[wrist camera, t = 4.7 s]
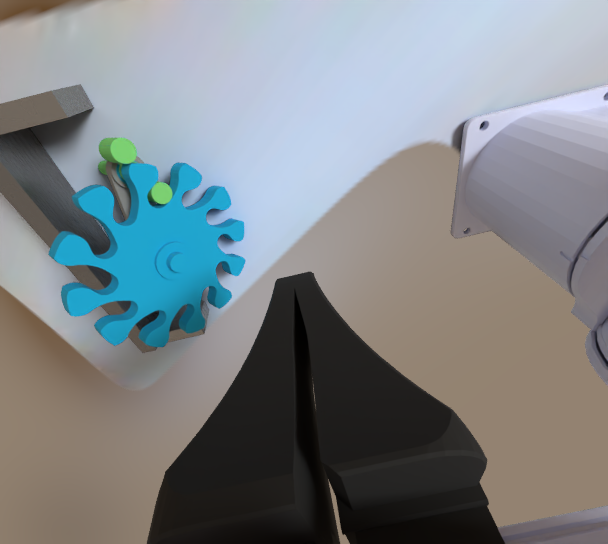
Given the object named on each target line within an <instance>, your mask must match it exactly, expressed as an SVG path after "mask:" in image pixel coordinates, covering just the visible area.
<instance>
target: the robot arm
mask: <svg viewBox="0 0 608 544" xmlns="http://www.w3.org/2000/svg"><path fill="white" fill-rule="evenodd" d="M606 93H607V94H606ZM605 94H606V96H605ZM604 96H605V97H604ZM484 121H485V124H484V126H483V127H482V128H481V129H480V125H481V123H482V122H484ZM466 228H467V230H466V231H464V230H465V229H466ZM488 231H493V232H494V233H495V234H497V235H498V236H499V237H500V238H501V239H503V240H504V241H505V242H506V243H508V244H509V245H510V246H511V247H513V248H514V249H515V250H516V251H518V252H519V253H520V254H521V255H523V256H524V257H525V258H526V259H528V260H529V261H530V262H531V263H533V264H534V265H535V266H536V267H537V268H539V269H540V270H541V271H542V272H544V273H545V274H546V275H547V276H549V277H550V278H551V279H552V280H554V281H555V282H556V283H557V284H559V285H560V286H561V287H562V288H564V289H565V290H566V291H567V292H569V293H570V294H571V295H572V296H574V297H575V305H574V307H573V309H572V311H571V313H572V314H573V315H575V316H576V317H577V318H578V319H579V320H580V321H582V322H583V323H584V324H585V325H586V326H587V327H588V328H590V329H591V330H590V331H589V333H588V335H587V337H586V342H585V348H586V354H587V356H588V359H589V361H590V363H591V365H592V366H593V368H594V370H595V371H596V373H597V374H598V375H599V376H600V378H601V379H602V380H603V381H604V382H605V384H606V385H608V84H607V85H603V86H599V87H595V88H591V89H587V90H583V91H579V92H575V93H570V94H566V95H562V96H558V97H554V98H550V99H546V100H542V101H538V102H534V103H530V104H525V105H521V106H517V107H513V108H509V109H505V110H501V111H497V112H493V113H489V114H485V115H480V116H476V117H473V118H471V119H469V120H468V121H467V122H466V124H465V125H464V129H463V136H462V145H461V153H460V162H459V169H458V178H457V185H456V194H455V201H454V210H453V218H452V226H451V235H452V236H453V237H454V238H462V237H466V236H470V235H475V234H479V233H483V232H488ZM312 376H313V379H312ZM313 385H314V393H313ZM314 395H315V401H314ZM315 404H316V408H315ZM486 465H487V458H486V457H485V455H484V453H483V451H482V449H481V447H480V446H479V444H478V443H477V441H476V440H475V438H474V437H473V435H472V434H471V432H470V431H469V430H468V428H467V427H466V426H465V424H464V423H463V422H462V421H461V419H460V418H459V417H458V416H457V414H456V413H455V412H454V411H453V410H452V409H451V408H449V407H448V406H446V405H445V404H443V403H442V402H440V401H439V400H437V399H436V398H434V397H433V396H431V395H430V394H428V393H427V392H426V391H424V390H423V389H421V388H420V387H418V386H417V385H416V384H414V383H413V382H411V381H410V380H409V379H408V378H406V377H405V376H403V375H402V374H401V373H400V372H398V371H397V370H396V369H395V368H394V367H392V366H391V365H390V364H389V363H388V362H386V361H385V360H384V359H382V358H381V357H380V356H379V355H378V354H377V353H376V352H374V351H373V350H372V349H371V348H370V347H369V346H368V345H367V344H366V343H365V342H364V341H363V340H362V339H361V338H360V337H359V336H358V335H357V334H356V333H355V332H354V331H353V330H352V329H351V328H350V327H349V326H348V324H347V323H346V322H345V321H344V320H343V319H342V317H341V316H340V315H339V314H338V313H337V311H336V310H335V309H334V307H333V306H332V305H331V303H330V302H329V301H328V300H327V298H326V296H325V295H324V293H323V292H322V290H321V289H320V287H319V285H318V283H317V281H316V279H315V277H314V273H312V272H306V273H302V274H298V275H293V276H289V277H284V278H280V279H277V281H276V282H275V287H274V290H273V294H272V298H271V301H270V304H269V307H268V310H267V313H266V316H265V319H264V321H263V324H262V326H261V329H260V331H259V333H258V335H257V338H256V340H255V342H254V345H253V347H252V349H251V351H250V353H249V355H248V357H247V359H246V360H245V362H244V364H243V366H242V368H241V370H240V371H239V373H238V375H237V376H236V378H235V380H234V381H233V383H232V385H231V386H230V388H229V390H228V391H227V393H226V394H225V396H224V397H223V399H222V400H221V402H220V403H219V404H218V406H217V407H216V409H215V410H214V411H213V413H212V414H211V416H210V417H209V418H208V420H207V421H206V423H205V424H204V425H203V427H202V428H201V429H200V431H199V432H198V433H197V434H196V436H195V437H194V438H193V439H192V441H191V442H190V443H189V444H188V445H187V447H186V448H185V449H184V450H183V452H182V453H181V454H180V455H179V456H178V458H177V459H176V460H175V461H174V463H173V464H172V465H171V466H170V467H169V469H167V471H166V472H165V475H164V479H163V482H162V485H161V488H160V490H159V494H158V498H157V501H156V505H155V510H154V514H153V518H152V523H151V527H150V532H149V536H148V540H147V544H340V541H339V536H338V530H337V525H336V520H335V515H334V509H333V504H332V498H331V493H330V488H329V482H330V484H331V486H332V489H333V491H334V493H335V495H336V500H337V506H338V512H339V518H340V524H341V530H342V534H343V535H344V534H345V535H346V537H347V539H348V540H349V543H350V544H608V506H603V507H598V508H593V509H588V510H583V511H578V512H573V513H568V514H563V515H558V516H553V517H548V518H543V519H538V520H533V521H528V522H523V523H518V524H513V525H508V526H503V527H498V528H497V526H496V524H495V522H494V520H493V518H492V516H491V513H490V512H489V509H488V507H487V505H488V504H489V503H488V499H487V497H486V495H485V493H484V491H483V489H482V487H481V485H480V483H479V481H480V479H481V477H482V475H483V473H484V471H485V469H486ZM328 479H329V482H328Z"/></svg>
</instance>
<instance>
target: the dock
mask: <svg viewBox="0 0 608 544" xmlns="http://www.w3.org/2000/svg"><path fill="white" fill-rule="evenodd" d="M92 108H94V107H93V105H92V104H91V102H90V100H89V98H88V97H87V95H86V93H85V91H84V90H83V88H82V86H81V84H80V85H76V86H71V87H66V88H62V89H57V90H53V91H49V92H45V93H41V94H37V95H33V96H29V97H26V98H22V99H18V100H14V101H10V102H6V103H2V104H0V192H1V193H2V194H3V195H4V196H5V197H6V199H7V200H8V201H9V202H10V203H11V204H12V205H13V206H14V208H15V209H16V210H17V211H18V212H19V213H20V214H21V216H22V217H23V218H24V219H25V220H26V221H27V222H28V223H29V225H30V226H31V227H32V228H33V229H34V230H35V231H36V233H37V234H38V235H39V236H40V237H41V238H42V239H43V240H44V242H45V243H46V244H47V245H48V246H49V247H50V248H51V246H52V243H53V241H54V240H55V238H56V237H57V236H58V235H59V234H60V233H61V232H62V231H68V232H72V233H74V234H76V235H78V236H80V237H81V238H83V239H84V240H85V241H86V242H87V243H88V245H89V247H90V249H91V251H92V253H93V254H94V255H101V254H104V253H106V252H107V251H108V250H109V248H110V245H111V242H110V240H109V239H108V237H107V236H106V234H105V233H104V232H103V230H102V229H101V227H100V226H99V225H98V223H97V222H96V220H95V219H94V218H93V216H91V215H90V214H88V213H86V212H84V211H81V210H80V209H79V208H77V207H76V206H75V204H74V202H73V200H72V196H73V195H74V194H76V193H75V191H74V190H73V188H72V187H71V186H70V184H69V183H68V181H67V180H66V179H65V177H64V176H63V174H62V173H61V172H60V170H59V169H58V168H57V166H56V165H55V163H54V162H53V161H52V159H51V158H50V156H49V155H48V154H47V152H46V151H45V149H44V148H43V147H42V145H41V144H40V142H39V141H38V140H37V138H36V137H35V135H34V134H33V133H32V131H31V130H30V129H29V127H33V126H36V125H40V124H44V123H48V122H52V121H56V120H60V119H64V118H68V117H71V116H73V115H76V114H78V113H81V112H84V111H86V110H89V109H92ZM66 267H67V268H68V269H69V270H70V271H71V272H72V273H73V274H74V276H75V277H76V278H77V279H78V280H79V281H80V282H81V283H82V284H84V285H86V286H88V287H90V288H92V289H94V290H101V289H104V288H106V287H107V286H109V284H110V283H111V280H112V277H111V274H110V273H109V272H108V271H106V270H104V269H102V268H99V267H96V266H90V265H74V266H66ZM101 306H102V307H103V308H104V310H105V311H106V312H107V313H108V314H109V315H119V314H123V313H125V312H126V311H128V309H129V308H130V306H131V301H129V300H128V301H113V302H109V303H106V304H103V305H101ZM200 308H201V313H202V315H203V317H204V318H205V327H204V328H203V329H201V330H199V331H197V332H194V333H186V332H185V331H183V330H182V329H180V327H179V320H180V318H181V316H182V315H183V313H184V312H185V311H186V309H187V305H184V306H182V307H181V308H180V310H179V311H178V312H177V314H176V315H175V317H174V318H173V320H172V322H171V325H170V330H169V340H168V342H171V341H175V340H180V339H184V338H188V337H193V336H197V335H202V334H204V333H205V328H206V323H207V318H208V312H209V309H208V307H207V305H206V303H205V302H204V301H201V304H200ZM158 315H159V310H157V311H154V312H152V313H150V314H149V315H147V316H145V317H144V318H142V319H141V320H140V321H138V322H137V323H136V324H135V325H134V327H133V328H132V329H131V331H130V332H129V334H128V337H129V338H130V339H131V340H132V341H133V342H134V344H135V345H136V346H137V347H138V348H139V349H140V350H141V351H142V353H145V352H150V351H154V350H156V349H157V347H152V346H148V345H146V344H145V343H144V342H143V341H141V340H140V339H139V333H140V331H141V329H142V328H143V327H144V326H146V325H147V324H149V323H151V322H153V321H154V320H155V319H156V318H157V317H158Z"/></svg>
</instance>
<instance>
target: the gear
mask: <svg viewBox="0 0 608 544" xmlns="http://www.w3.org/2000/svg"><path fill="white" fill-rule="evenodd" d="M99 152H100V154H101V156H102V157H103V158H104V159H105V160H107V161H101V162H100V163H99V165H98V169H99V171H100V172H101V173H102V174H104V175H107V176H108V178H109V181H110V183H111V186H112V188H113V191H114V193H115V196H116V198H117V201H118V203H119V206H120V208H121V211H122V213H123V216H124V218H125V221H124V222H122V223H116V221H115V220H114V218H113V208H114V197H113V194H112V193H111V192H110V190H109V189H107V188H106V187H104V186H101V185H91V186H88V187H86V188H84V189H82V190H80V191H79V192H77V193H76V194H74V195H73V196H72V200H73V202H74V204H75V206H76V207H77V208H79V209H80V210H81V211H84V212H86V213H88V214H90V215H91V216H93V217H94V218H95V219H96V220H98V221H99V222H100V224H101V225H102V226H103V227H104V229H105V231H106V233H107V235H108V237H109V239H110V242H111V245H110V248H109V250H108V251H107V252H106V253H104V254H101V255H94V254H93V253H92V251H91V249H90V247H89V245H88V243H87V242H86V241H85V240H84V239H83V238H81V237H80V236H78V235H76V234H74V233H72V232H68V231H62V232H61V233H60V234H59V235H58V236H57V237H56V238H55V240H54V241H53V243H52V246H51V248H50V251H49V254H48V255H50V256H51V257H52V258H53V259H54V260H55V261H57V262H58V263H60V264H62V265H66V266H74V265H90V266H96V267H99V268H102V269H104V270H106V271H108V272H109V273H110V274H111V277H112V280H111V283H110V284H109V286H107V287H106V288H104V289H101V290H94V289H92V288H90V287H88V286H86V285H84V284H82V283H69V284H66V285H64V286H63V287H62V291H61V297H62V302H63V305H64V308H65V310H66V311H67V312H68V313H69V314H70V315H71V316H82V315H85V314H87V313H89V312H91V311H92V310H93V309H95V308H97V307H99V306H101V305H103V304H106V303H109V302H113V301H128V300H129V301H131V306H130V308H129V309H128V311H126V312H125V313H123V314H119V315H107V316H104V317H102V318H100V319H99V320H98V321H97V322H96V323H95V325H94V326H95V328H96V330H97V331H98V332H99V333H100V334H101V335H102V336H103V337H104V338H105V339H106V340H107V341H108V342H109V343H111V344H113V345H114V346H115V345H118V344H120V343H122V342H123V341H124V340H125V339H126V338H127V336H128V334H129V332H130V331H131V329H132V328H133V327H134V325H135V324H136V323H137V322H138V321H140V320H141V319H142V318H144V317H145V316H147V315H149V314H150V313H152V312H154V311H157V310H159V315H158V317H157V318H156V319H155V320H154V321H153V322H151V323H149V324H147V325H146V326H144V327H143V328H142V329H141V331H140V333H139V339H140V340H141V341H143V342H144V343H145V344H146V345H148V346H152V347H164V346H165V345H166V343H167V342H168V340H169V330H170V325H171V322H172V320H173V318H174V317H175V315H176V314H177V312H178V311H179V310H180V308H181V307H182V306H183V305H185V304H187V309H186V311H185V312H184V313H183V315H182V316H181V318H180V320H179V327H180V329H182V330H183V331H185V332H186V333H194V332H197V331H199V330H201V329H203V328H204V327H205V318H204V317H203V315H202V313H201V308H200V304H201V298H202V293H203V291H204V289H205V288H206V287H208V286H209V291H208V296H207V299H208V302H209V303H210V304H212V305H213V306H215V307H217V308H219V309H220V308H221V307H223V306H224V305H225V304H226V303H227V302H228V301H229V300H230V299H231V298H232V295H231V292H230V291H229V290H227V289H225V288H223V287H222V286H221V285H220V283H219V281H218V278H217V275H216V267H217V265H218V264H219V263H220V262H221V263H222V267H223V270H224V271H225V272H227V273H229V274H232V275H234V276H238V275H239V274H240V273H241V271H242V269H243V267H244V264H245V259H244V258H243V257H240V256H237V255H235V254H225V253H223V252H222V251H221V250H220V249H219V247H218V245H217V241H218V238H219V237H220V236H221V235H222V234H223V236H224V237H226V238H227V239H230V240H234V241H241V240H243V237H244V222H242V221H238V220H234V219H228V220H227V221H225V222H224V223H222V224H219V225H209V224H208V223H207V221H206V214H207V212H208V211H209V210H210V209H212V208H215V209H219V210H226V209H228V208H229V207H230V205H231V200H230V197H229V195H228V193H227V191H226V189H225V188H224V187H220V186H211V187H210V188H208V190H207V191H206V193H205V195H204V196H203V198H202V199H201V200H200V201H199V202H197V203H196V204H194V205H191V206H188V207H184V206H183V204H182V196H183V194H184V193H185V192H186V191H188V190H192V189H195V188H197V187H198V186H199V185H200V183H201V180H202V176H201V175H200V173H199V172H198V171H197V170H195V169H194V168H193V167H191V166H189V165H187V164H186V163H176V164H174V165H173V166H172V168H171V172H170V176H171V179H170V185H168V184H166V183H163V182H157V180H158V170H157V168H156V167H155V166H153V165H149V164H144V162H143V161H142V160H141V159H140V158H138V157H137V151H136V148H135V146H134V144H133V143H132V142H131V141H129V140H128V139H125V138H105V139H103V140H102V141H101V142H100V144H99ZM156 203H158V204H157V205H156Z"/></svg>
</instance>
